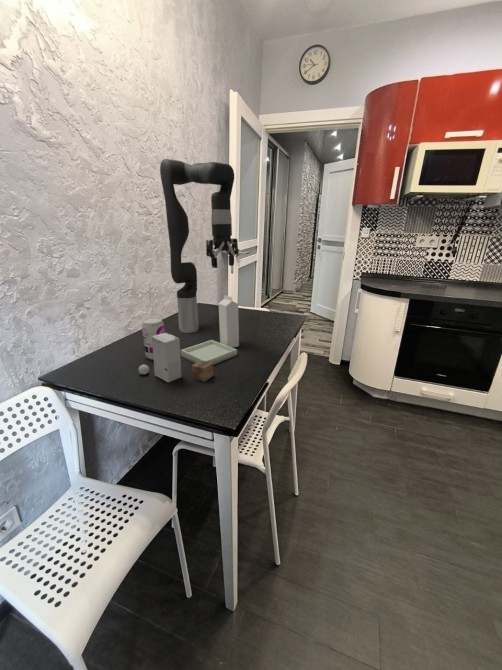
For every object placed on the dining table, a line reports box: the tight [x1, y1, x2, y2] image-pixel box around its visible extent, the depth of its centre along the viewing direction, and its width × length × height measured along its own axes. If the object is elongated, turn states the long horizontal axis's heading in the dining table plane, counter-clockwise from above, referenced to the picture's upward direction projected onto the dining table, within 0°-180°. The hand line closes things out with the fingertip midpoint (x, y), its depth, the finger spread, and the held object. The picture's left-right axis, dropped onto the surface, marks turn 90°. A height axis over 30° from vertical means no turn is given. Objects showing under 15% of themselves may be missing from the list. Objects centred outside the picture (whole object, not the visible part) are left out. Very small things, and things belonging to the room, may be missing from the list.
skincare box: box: [152, 332, 182, 383], centre depth 104 cm, size 8×6×15 cm
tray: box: [180, 339, 238, 366], centre depth 123 cm, size 16×16×2 cm
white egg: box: [138, 364, 150, 376], centre depth 108 cm, size 4×4×4 cm
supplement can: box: [141, 317, 166, 361], centre depth 120 cm, size 8×8×15 cm
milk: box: [218, 294, 240, 348], centre depth 129 cm, size 6×6×22 cm
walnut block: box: [191, 360, 214, 382], centre depth 105 cm, size 5×5×5 cm
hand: (223, 266), depth 120 cm, fingers open, 8 cm apart
